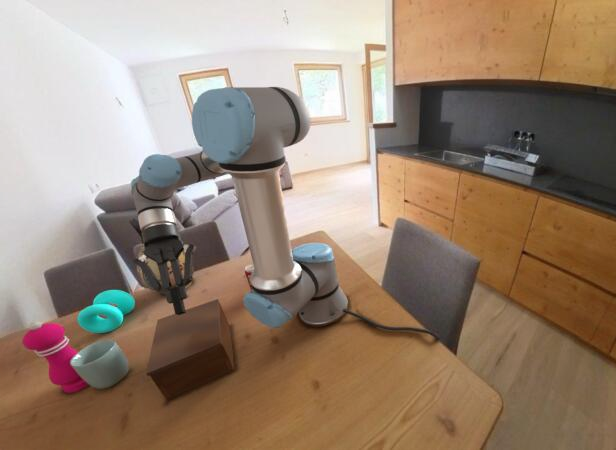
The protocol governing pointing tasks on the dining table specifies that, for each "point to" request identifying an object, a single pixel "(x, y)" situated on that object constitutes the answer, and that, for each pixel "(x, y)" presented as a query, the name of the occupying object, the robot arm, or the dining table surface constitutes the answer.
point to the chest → (198, 367)
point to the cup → (101, 364)
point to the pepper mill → (55, 354)
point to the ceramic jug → (154, 265)
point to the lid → (185, 336)
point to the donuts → (106, 311)
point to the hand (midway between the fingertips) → (180, 313)
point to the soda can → (249, 272)
